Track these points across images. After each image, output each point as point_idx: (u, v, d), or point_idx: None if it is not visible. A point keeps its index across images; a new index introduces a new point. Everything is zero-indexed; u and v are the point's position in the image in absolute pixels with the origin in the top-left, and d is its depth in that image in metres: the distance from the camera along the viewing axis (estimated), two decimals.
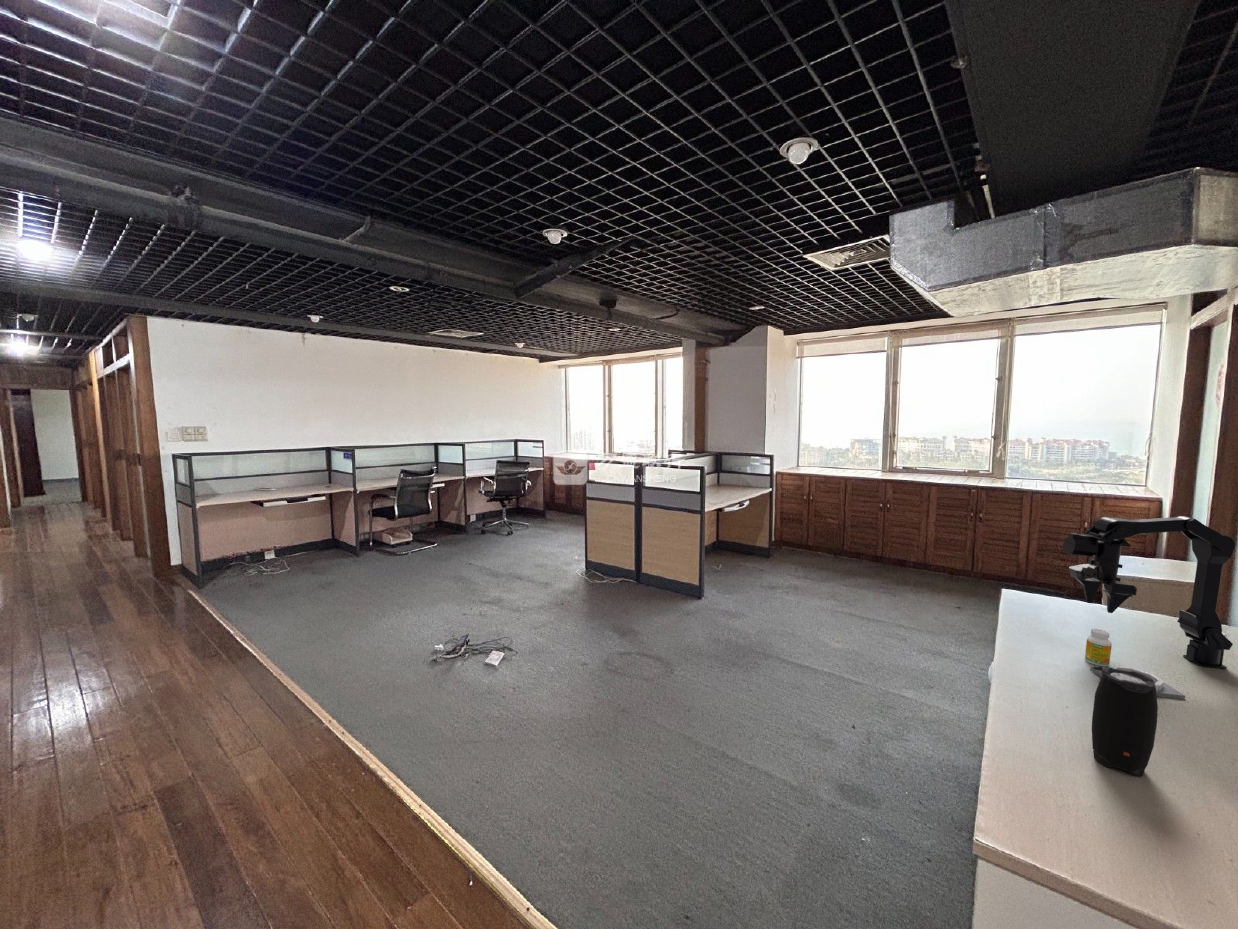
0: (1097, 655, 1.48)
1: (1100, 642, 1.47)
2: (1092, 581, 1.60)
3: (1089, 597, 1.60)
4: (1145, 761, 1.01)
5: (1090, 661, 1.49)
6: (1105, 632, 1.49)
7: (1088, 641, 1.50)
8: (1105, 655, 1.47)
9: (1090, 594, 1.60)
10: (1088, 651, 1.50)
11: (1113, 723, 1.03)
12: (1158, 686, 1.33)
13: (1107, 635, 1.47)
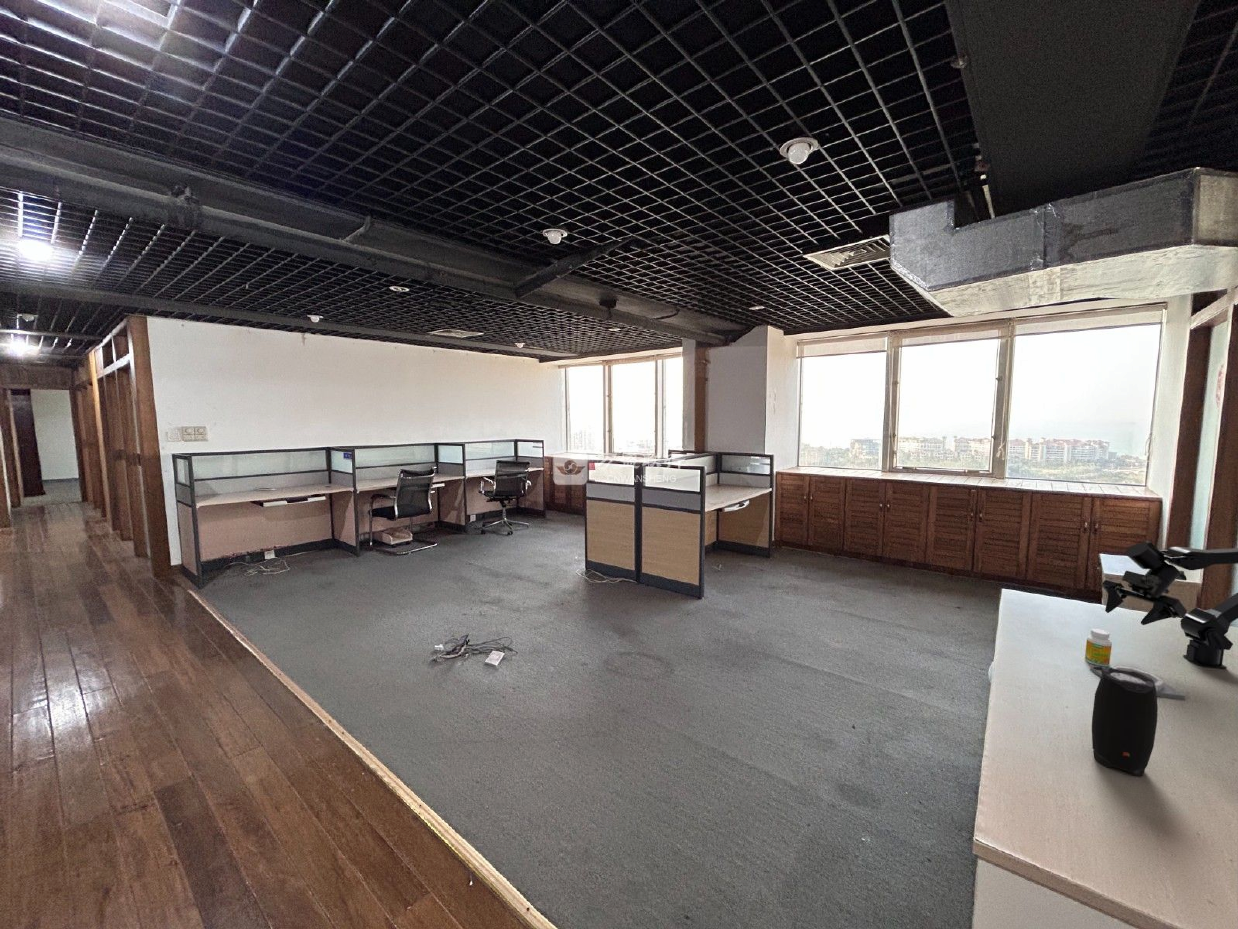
0: (1097, 655, 1.48)
1: (1100, 642, 1.47)
2: (1119, 596, 1.56)
3: (1110, 607, 1.55)
4: (1145, 761, 1.01)
5: (1090, 661, 1.49)
6: (1105, 632, 1.49)
7: (1088, 641, 1.50)
8: (1105, 655, 1.47)
9: (1112, 605, 1.55)
10: (1088, 651, 1.50)
11: (1113, 723, 1.03)
12: (1158, 686, 1.33)
13: (1107, 635, 1.47)
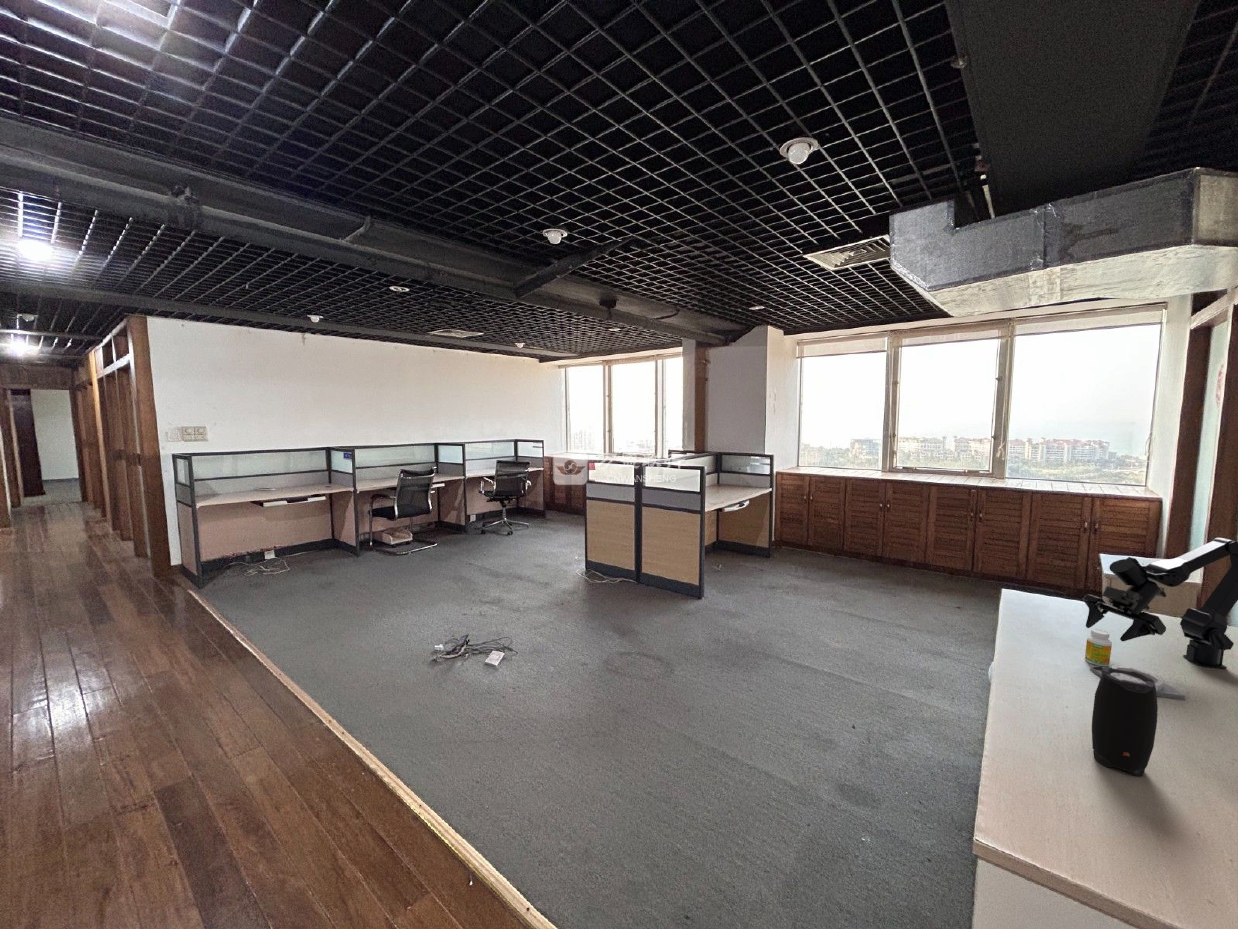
0: (1097, 655, 1.48)
1: (1100, 642, 1.47)
2: (1100, 611, 1.55)
3: (1091, 622, 1.54)
4: (1145, 761, 1.01)
5: (1090, 661, 1.49)
6: (1105, 632, 1.49)
7: (1088, 641, 1.50)
8: (1105, 655, 1.47)
9: (1093, 621, 1.54)
10: (1088, 651, 1.50)
11: (1113, 723, 1.03)
12: (1158, 686, 1.33)
13: (1107, 635, 1.47)
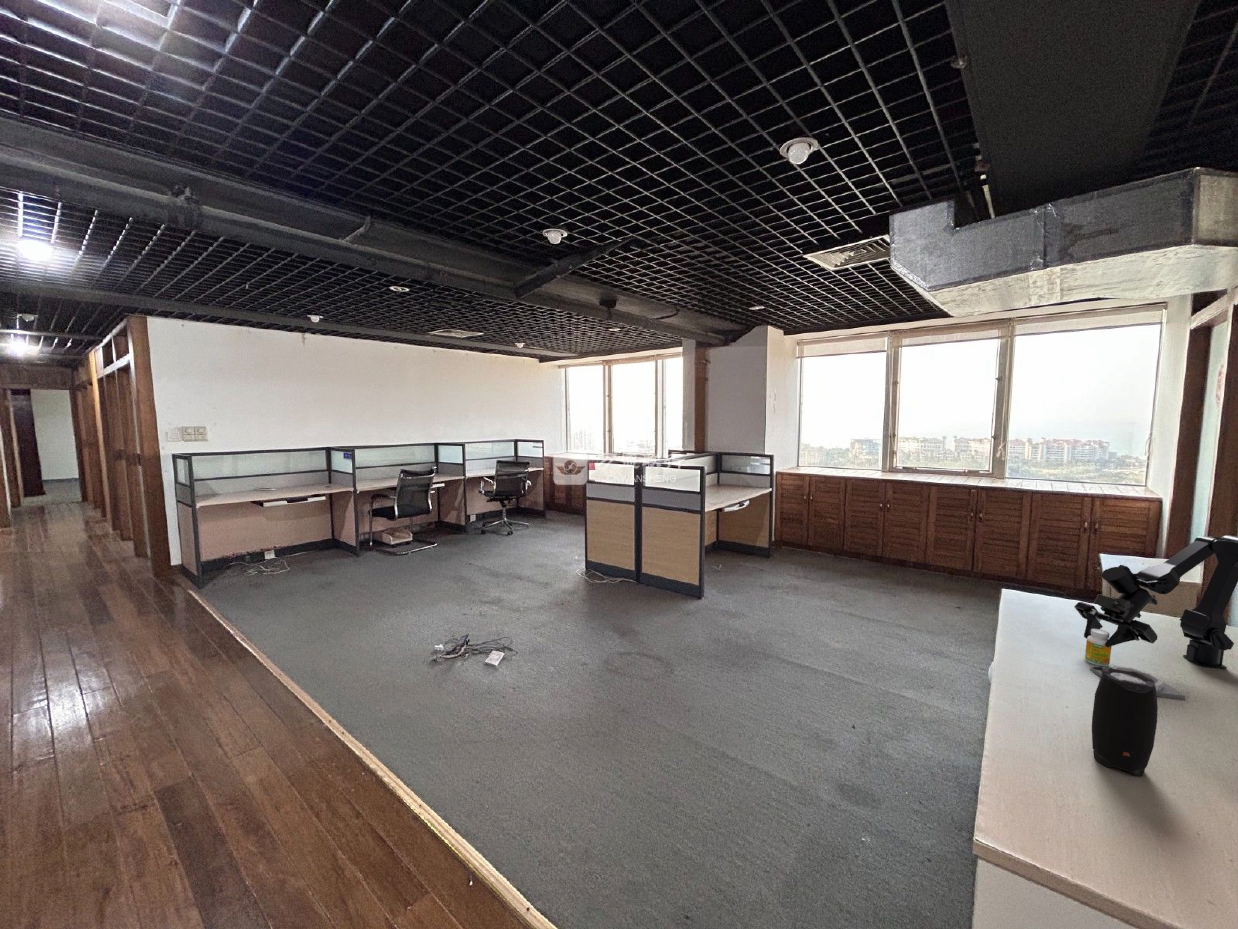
0: (1097, 655, 1.48)
1: (1100, 642, 1.47)
2: (1098, 621, 1.53)
3: (1089, 632, 1.52)
4: (1145, 761, 1.01)
5: (1090, 661, 1.49)
6: (1105, 632, 1.49)
7: (1088, 641, 1.50)
8: (1105, 655, 1.47)
9: None
10: (1088, 651, 1.50)
11: (1113, 723, 1.03)
12: (1158, 686, 1.33)
13: (1107, 635, 1.47)
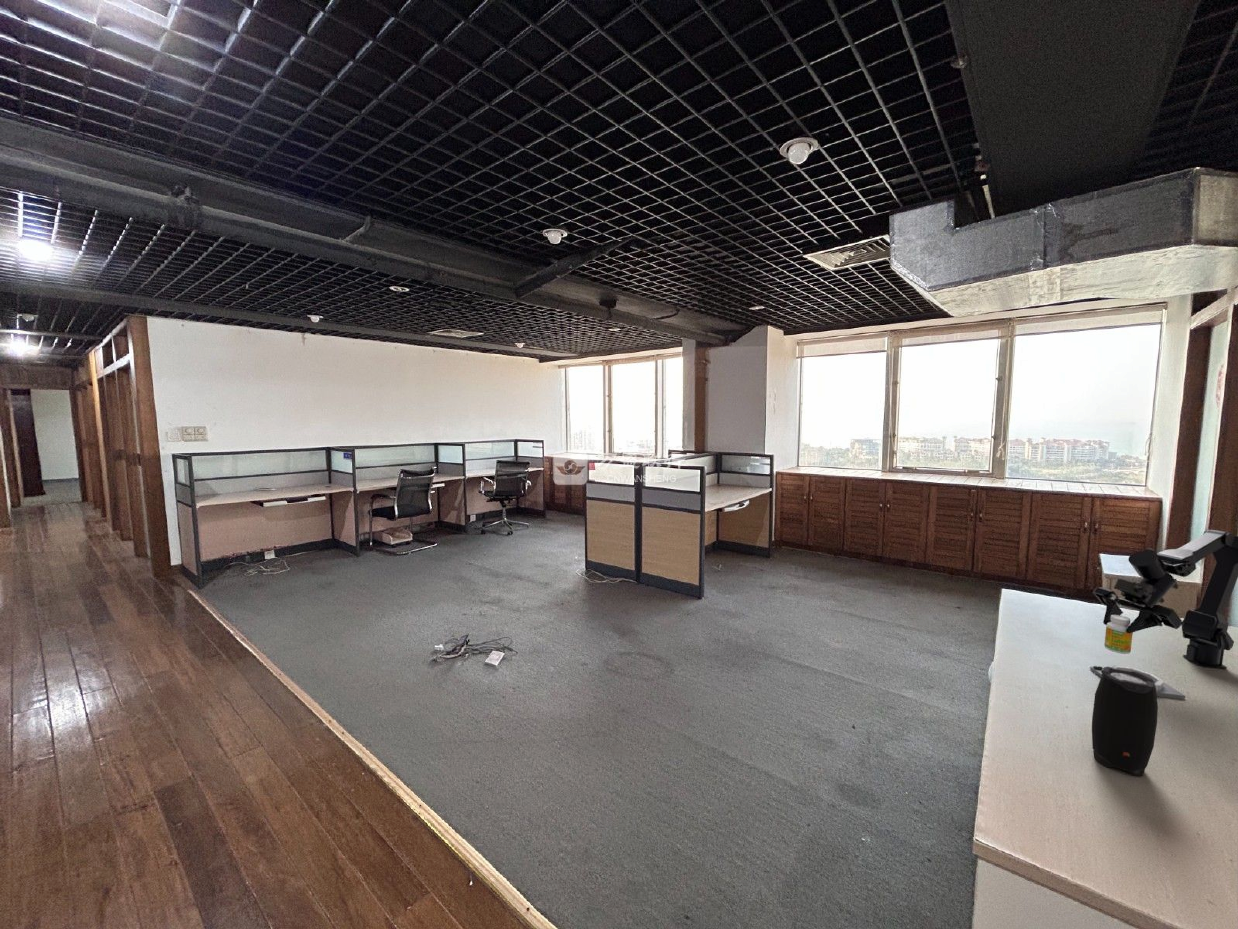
0: (1117, 642, 1.42)
1: (1121, 628, 1.41)
2: (1118, 607, 1.47)
3: (1109, 619, 1.45)
4: (1145, 761, 1.01)
5: (1110, 648, 1.43)
6: (1126, 618, 1.42)
7: (1108, 627, 1.44)
8: (1126, 642, 1.41)
9: None
10: (1108, 638, 1.43)
11: (1113, 723, 1.03)
12: (1158, 686, 1.33)
13: (1128, 621, 1.41)
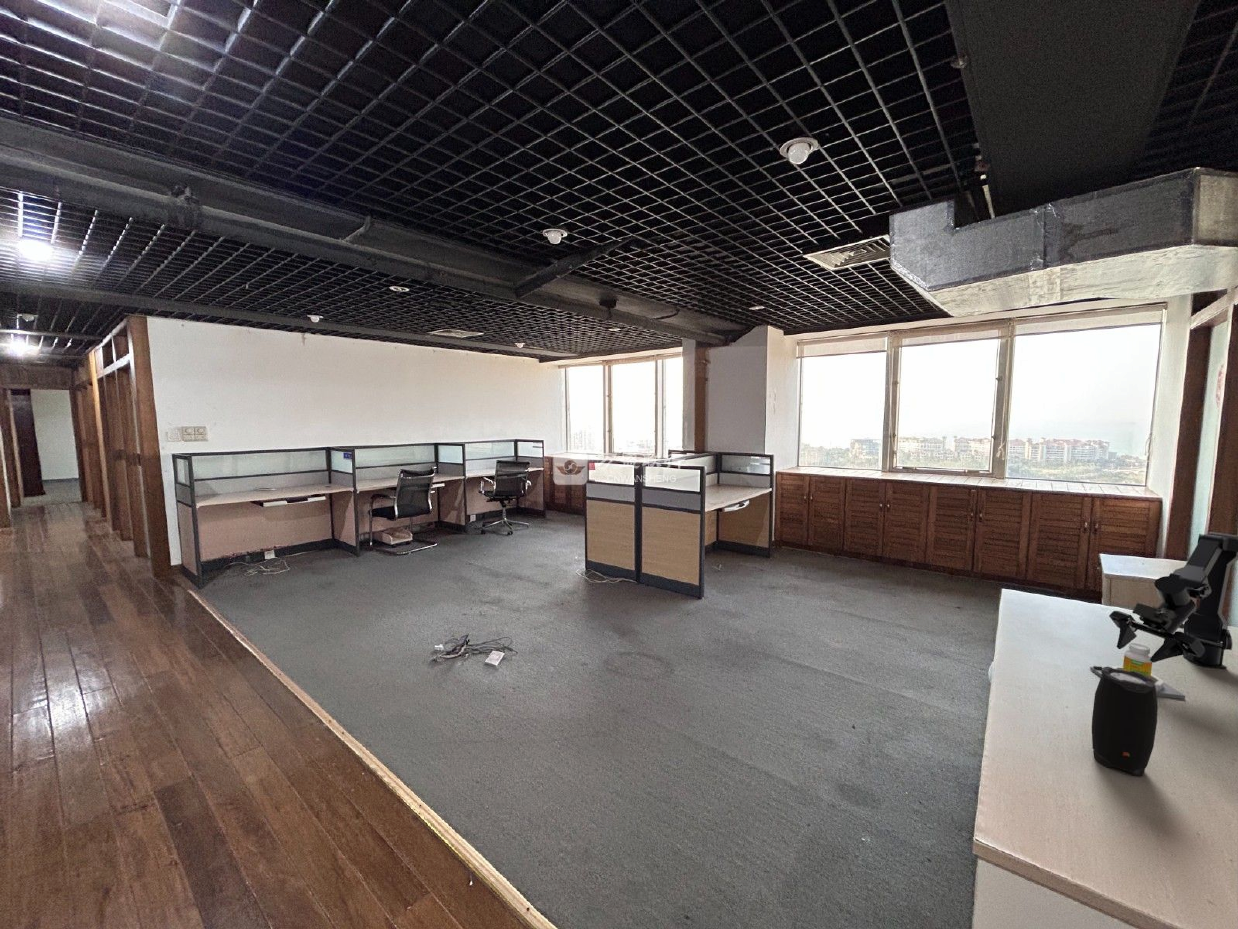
0: None
1: (1140, 658, 1.35)
2: (1132, 630, 1.42)
3: (1122, 643, 1.41)
4: (1145, 761, 1.01)
5: None
6: (1145, 647, 1.36)
7: (1126, 657, 1.38)
8: (1145, 673, 1.35)
9: (1124, 641, 1.41)
10: (1126, 668, 1.38)
11: (1113, 723, 1.03)
12: (1158, 686, 1.33)
13: (1147, 651, 1.35)
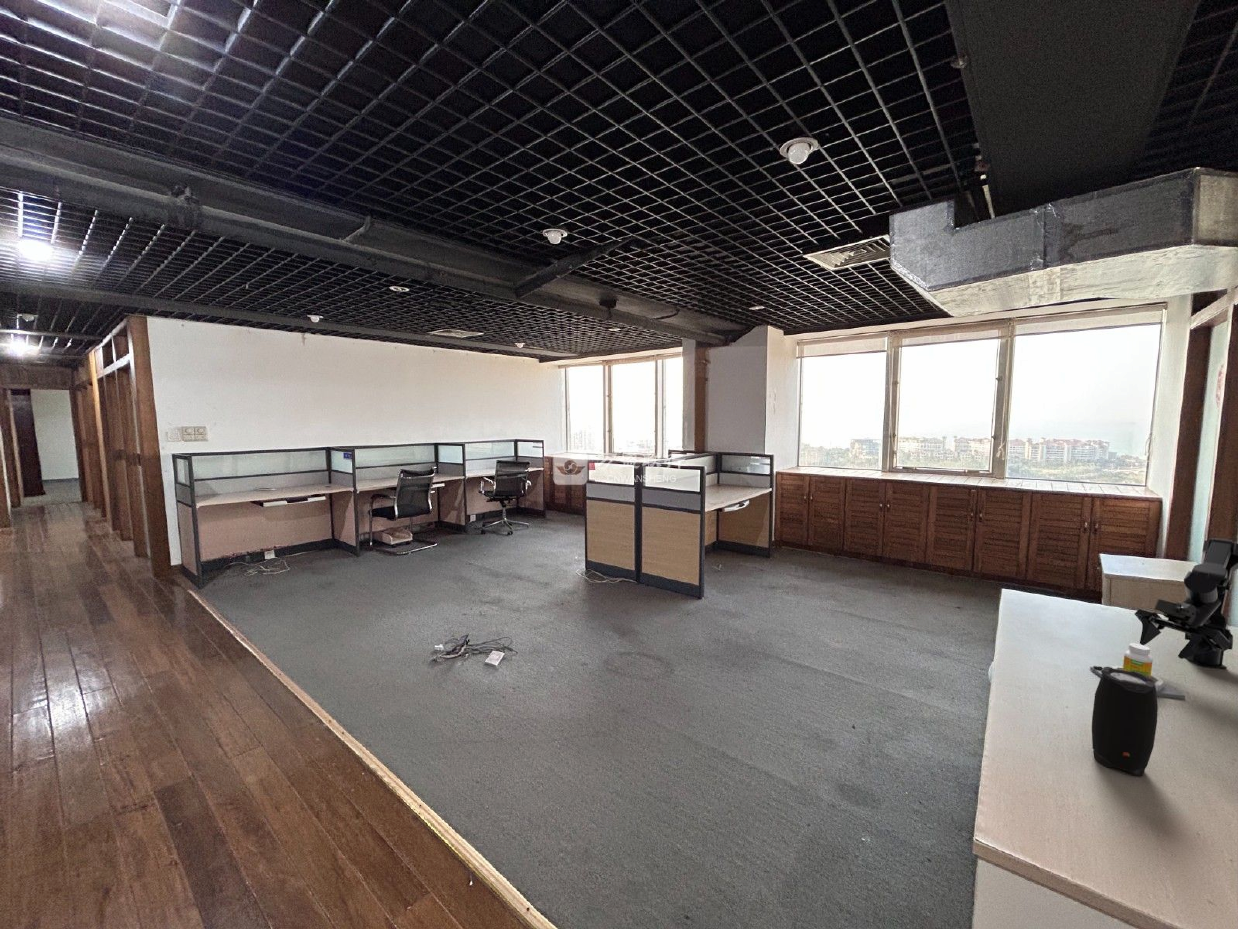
0: None
1: (1140, 658, 1.35)
2: (1155, 627, 1.45)
3: (1145, 639, 1.44)
4: (1145, 761, 1.01)
5: None
6: (1145, 647, 1.36)
7: (1126, 657, 1.38)
8: (1145, 673, 1.35)
9: (1147, 637, 1.44)
10: (1126, 668, 1.38)
11: (1113, 723, 1.03)
12: (1158, 686, 1.33)
13: (1147, 651, 1.35)
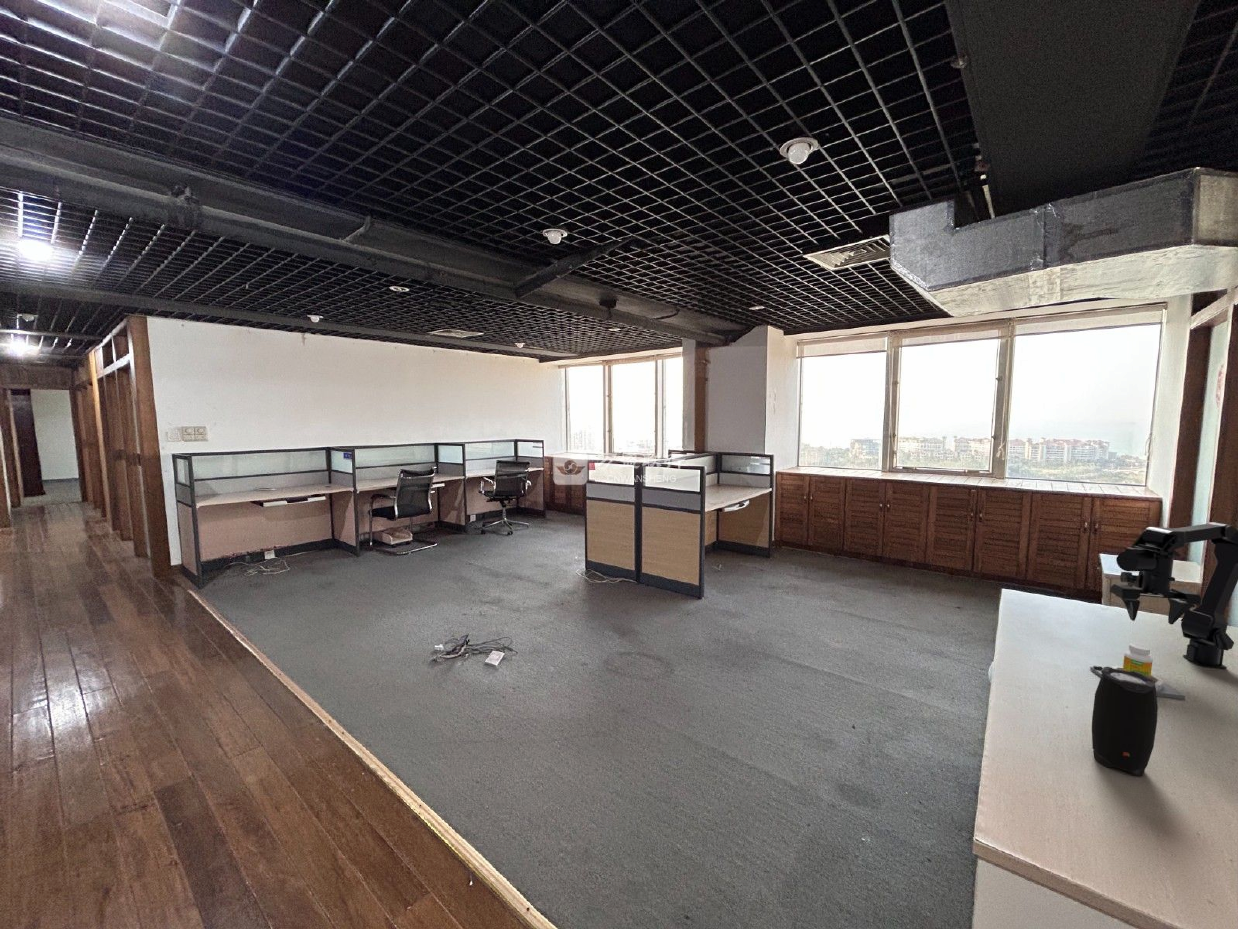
0: None
1: (1140, 658, 1.35)
2: (1177, 602, 1.46)
3: (1170, 617, 1.47)
4: (1145, 761, 1.01)
5: None
6: (1145, 647, 1.36)
7: (1126, 657, 1.38)
8: (1145, 673, 1.35)
9: (1171, 615, 1.47)
10: (1126, 668, 1.38)
11: (1113, 723, 1.03)
12: (1158, 686, 1.33)
13: (1147, 651, 1.35)
